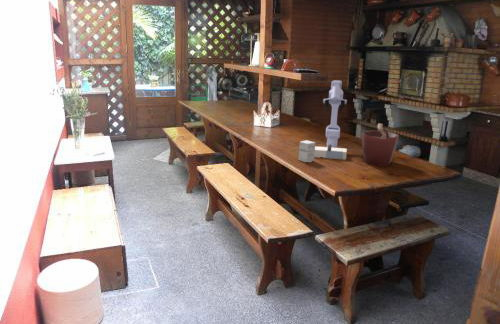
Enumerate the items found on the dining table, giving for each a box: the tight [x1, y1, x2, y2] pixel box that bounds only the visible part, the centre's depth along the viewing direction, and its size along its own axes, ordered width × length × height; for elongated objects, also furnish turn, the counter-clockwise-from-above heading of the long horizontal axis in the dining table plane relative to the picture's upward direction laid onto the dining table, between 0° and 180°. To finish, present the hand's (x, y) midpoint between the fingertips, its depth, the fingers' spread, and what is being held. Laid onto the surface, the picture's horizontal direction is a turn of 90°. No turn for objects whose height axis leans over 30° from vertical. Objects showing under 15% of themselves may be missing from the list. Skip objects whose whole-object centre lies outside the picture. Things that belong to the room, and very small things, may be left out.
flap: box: [325, 144, 343, 160], centre depth 268 cm, size 2×10×9 cm, turn 77°
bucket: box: [360, 123, 400, 167], centre depth 261 cm, size 24×22×25 cm
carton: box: [314, 145, 348, 160], centre depth 275 cm, size 10×24×5 cm, turn 78°
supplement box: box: [298, 139, 316, 163], centre depth 262 cm, size 7×7×13 cm
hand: (334, 111), depth 256 cm, fingers open, 7 cm apart
